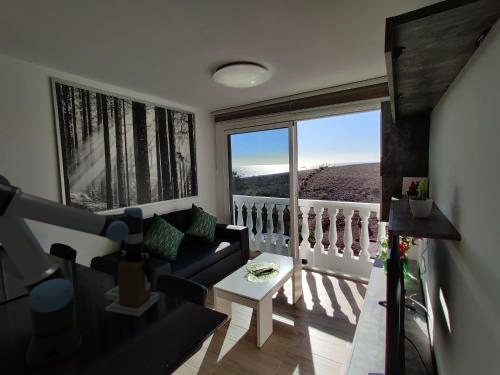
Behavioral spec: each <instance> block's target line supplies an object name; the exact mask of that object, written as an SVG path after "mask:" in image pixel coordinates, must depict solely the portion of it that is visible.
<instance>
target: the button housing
mask: <svg viewBox="0 0 500 375" xmlns="http://www.w3.org/2000/svg"><path fill="white" fill-rule="evenodd" d="M118 286H119V285H116V286H115V287H118ZM115 287H113V288H111V289H110V290H108V291H107V292H105V293H104V299H105V300H106V301H111V300H112V302H115V301H116V300H118V299H119V294H117V293H114V288H115Z"/></svg>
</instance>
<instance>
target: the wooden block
mask: <svg viewBox="0 0 500 375" xmlns="http://www.w3.org/2000/svg"><path fill="white" fill-rule="evenodd" d="M143 259H144V258H143ZM140 261H141V260H140ZM143 264H145V262H144V260H143V261H142V262H140V263H138V262H135V261H129V260H128V261H124V260H123V262H121V263H119V264H118V271H117V278H118V277H119V278H118V286H119V305H120V306H125V307H131V308H139V307H140V306H141V305H143V304H144V303H145V302H146V301H147V300H148V299H150V296H151V294H150V292H151V287H150V288H149V289H148V290H145V276H146V274H145V272H144V271H143V270H142V265H143ZM148 273H149V272H148Z"/></svg>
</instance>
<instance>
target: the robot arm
mask: <svg viewBox="0 0 500 375" xmlns="http://www.w3.org/2000/svg"><path fill="white" fill-rule="evenodd" d="M143 216H144V215H143V209H142V208H141V207H126V208H124V210H123V212H121V213H114V214H98V213H96V212H95V213H94V212H92V211H89V210H86V209H82V208H78V207H75V206H71V205H68V204H64V203H61V202H57V201H55V200H50V199H48V198H44V197H40V196H36V195H34V194H30V193H27V192H24V191H23V190H22V188H21V187H19V186H15V185H11V182H10V181H9V180H8V179H7V178H6V177H5V176H4V175H2V174H0V244H1V246H2V248H3V249H4V250H5V251H6V254H8V256H9V257H10V259H11V260H12V261H13V263H14V264H15V266H16V268H17V269H18V270H19V272H20V273H21V275H22V276H23V281H22V286H23V287H24V289H25V290H26V292H27V293H28V295H29V299H28V304H29V307H30V322H31V323H30V324H31V338H30V341H29V345H28V348H27V351H26V353H25V360H26V361H25V362H26V364H27V366H29V367H31V368H37V369H39V368H46V367H50V366H53V365H56V364H59V363H61V362H63V361H65V360H67V359H69V358H70V357H71V356H73V355H74V354H75V353H76V352H77V351H78V350H79V349H80V348H81V345H82V343H83V342H82V341H83V340H82V334H81V332H80V330H79V328H78V326H77V324H76V320H75V317H76V316H75V302H74V301H75V299H74V298H75V297H74V294H75V289H74V285H73V283H72V282H71V279H70V277H69V275H68V274H67V273H66V272H65V271H64V270H63V269H62V267H61V266H60V264H58V263H54V262H52V261H51V259H50V258H49V256H48V254H47V253H46V251H45V250H44V249H43V247H42V245H41V244H40V242H39V241H38V239H37V238H36V236H35V234H34V233H33V231H32V229H31V228H30V226H29V224H28V223H27V222H26V220H30V221H35V222H37V223H42V224H48V225H51V226H55V227H60V228H64V229H68V230H72V231H77V232H80V233H84V234H90V235H94V236H97V237H102V238H105V239H108V240H109V241H110V242H113V243H119V242H122V241H124V249H123V250H121V251H119V255H118V258H117V260H116V263H115V265H114V267H113V270H114V271H117V272H118V264H119V263H121V262H123V261H128V260H129V261H135V262H138V263H140V262H142V261H143V260H144V262H145V264H143V265H142V270H143V271H144V272H145V274H146V276H145V290H148V289H149V288H150V289H151V282H152V275H154V274H156V270H155V267H154V265H153V262H152V260H151V258H150V253H149V252H147V253H146V252H145V253H144V252H143V249H144V241H143V240H144V229H143V226H144V221H143V220H144V217H143ZM25 219H26V220H25ZM125 257H126V258H125ZM143 258H144V259H143ZM140 260H141V261H140ZM148 272H149V273H148ZM117 278H118V279H119V277H118V276H117Z"/></svg>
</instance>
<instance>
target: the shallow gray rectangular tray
mask: <svg viewBox="0 0 500 375" xmlns="http://www.w3.org/2000/svg"><path fill="white" fill-rule="evenodd" d="M150 294H151V296H150V299H148V300H147V301H146V302H145V303H144V304H143V305H141V306H140V307H139V308H131V307H125V306H120V305H119V299H118V300H116V301H112V303H111V304H109V305H107V306H106V307H105V311H108V312H111V313H116V314H117V313H118V314H122V313H123V314H124V315H127V316H129V315H130V316H133V315H134V317H140V316H142V315H143V313H144V311H145V312H146V311H147V310H148V309H149V308H151V307H152V305H154V304H155V303H157V302H158V300H159V299H160V293H158V292H153V291H150Z"/></svg>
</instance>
